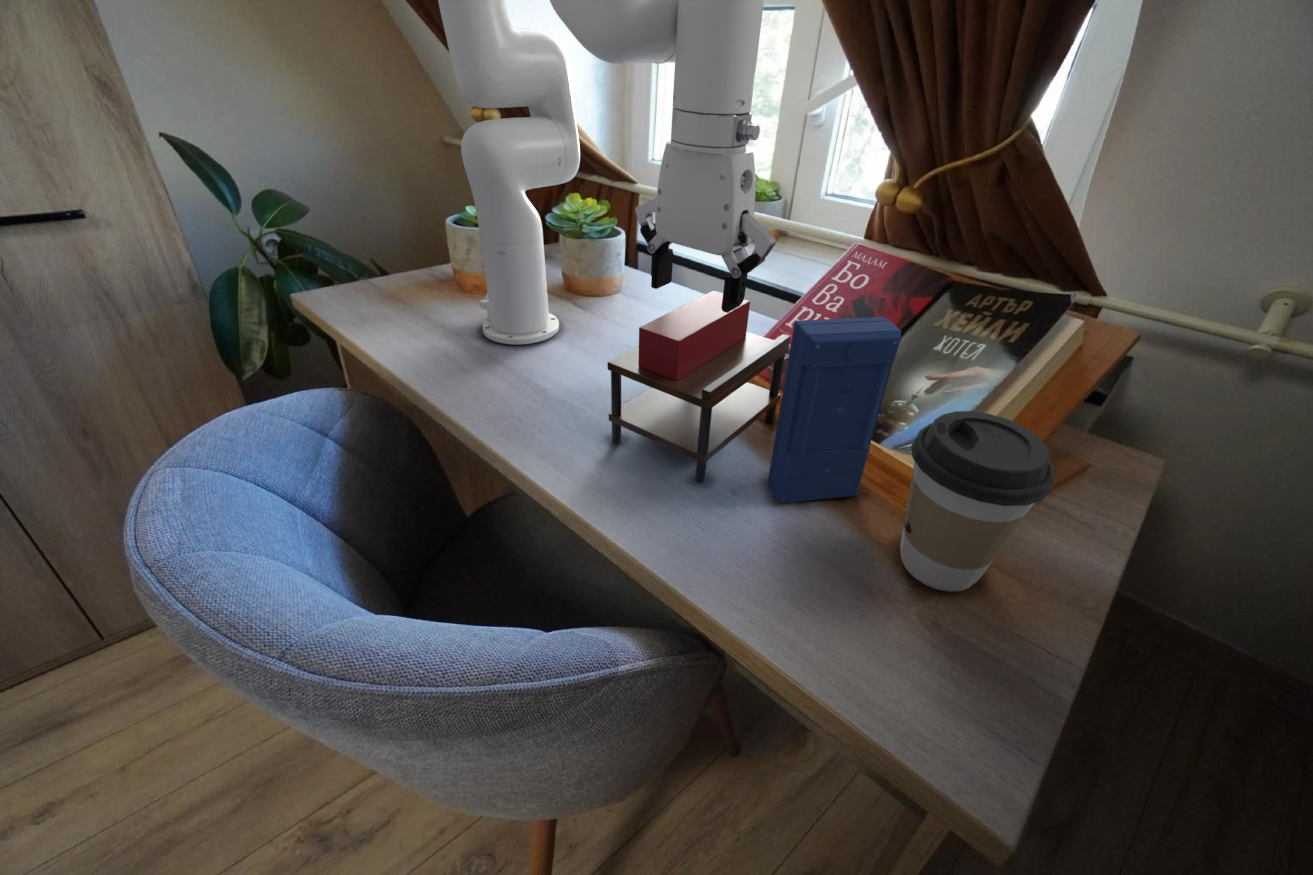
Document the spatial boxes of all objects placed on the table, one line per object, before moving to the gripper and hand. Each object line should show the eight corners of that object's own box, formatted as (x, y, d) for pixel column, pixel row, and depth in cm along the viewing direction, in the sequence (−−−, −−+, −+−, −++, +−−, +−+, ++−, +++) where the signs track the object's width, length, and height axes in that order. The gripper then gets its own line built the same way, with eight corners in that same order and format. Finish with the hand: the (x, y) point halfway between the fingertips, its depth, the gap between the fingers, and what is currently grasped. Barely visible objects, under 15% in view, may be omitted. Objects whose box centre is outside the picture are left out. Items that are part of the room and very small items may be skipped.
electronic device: (840, 471, 72) (881, 312, 61) (859, 499, 68) (907, 334, 56) (764, 477, 70) (791, 316, 59) (779, 506, 66) (811, 338, 55)
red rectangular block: (638, 366, 69) (638, 327, 66) (710, 325, 79) (713, 290, 76) (676, 381, 66) (678, 341, 63) (746, 337, 76) (750, 301, 73)
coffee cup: (883, 513, 66) (921, 393, 57) (997, 544, 62) (1056, 421, 54) (872, 586, 57) (915, 457, 49) (1004, 626, 53) (1075, 496, 45)
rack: (608, 440, 76) (607, 352, 69) (690, 386, 88) (696, 307, 81) (701, 485, 69) (710, 392, 62) (776, 420, 81) (790, 336, 74)
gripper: (806, 139, 58) (777, 308, 67) (662, 116, 66) (655, 269, 76) (768, 149, 53) (743, 329, 62) (617, 122, 61) (616, 285, 71)
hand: (695, 296), depth 69 cm, fingers open, 9 cm apart
